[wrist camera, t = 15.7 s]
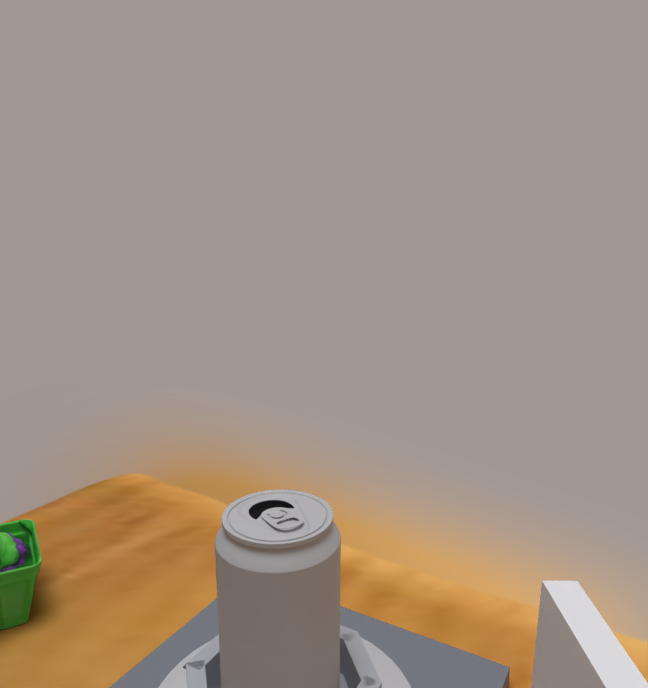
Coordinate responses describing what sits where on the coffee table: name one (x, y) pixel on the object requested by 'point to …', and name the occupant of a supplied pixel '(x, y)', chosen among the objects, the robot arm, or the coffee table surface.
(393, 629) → the board
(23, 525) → the fruit basket
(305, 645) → the beverage can
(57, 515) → the coffee table surface
